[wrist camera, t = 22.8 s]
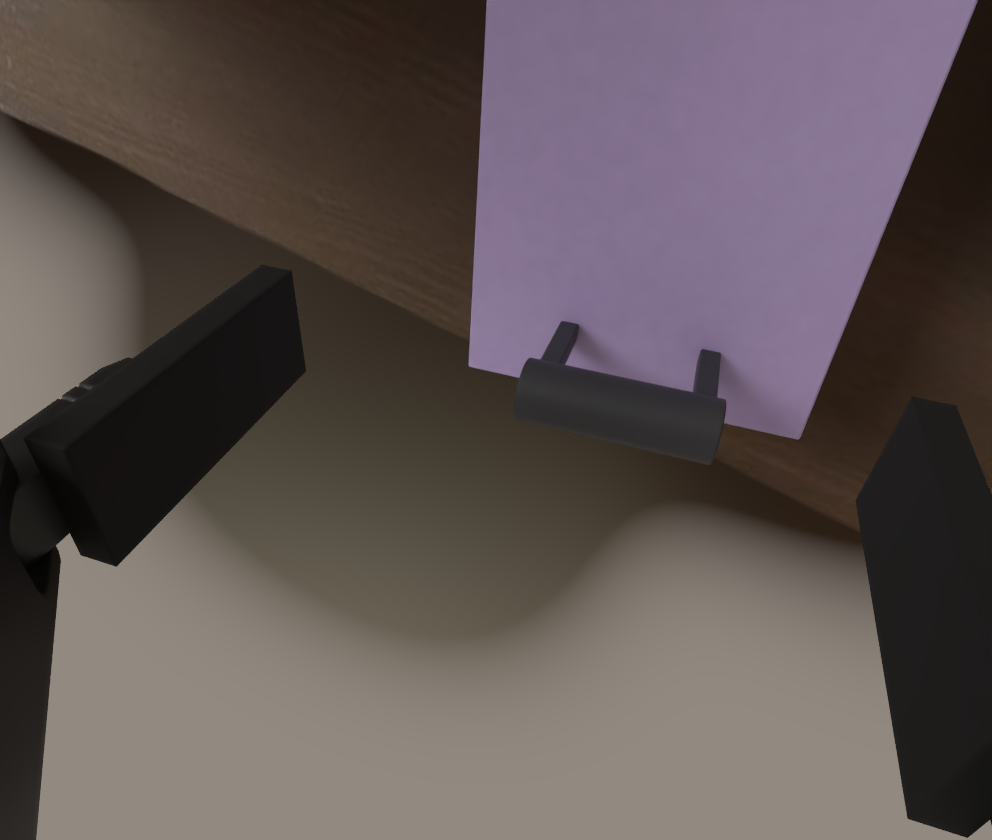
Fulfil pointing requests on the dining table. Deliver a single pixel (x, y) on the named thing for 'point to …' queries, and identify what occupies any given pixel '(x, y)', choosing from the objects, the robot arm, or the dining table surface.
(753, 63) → the file box lid
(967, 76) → the dining table surface
